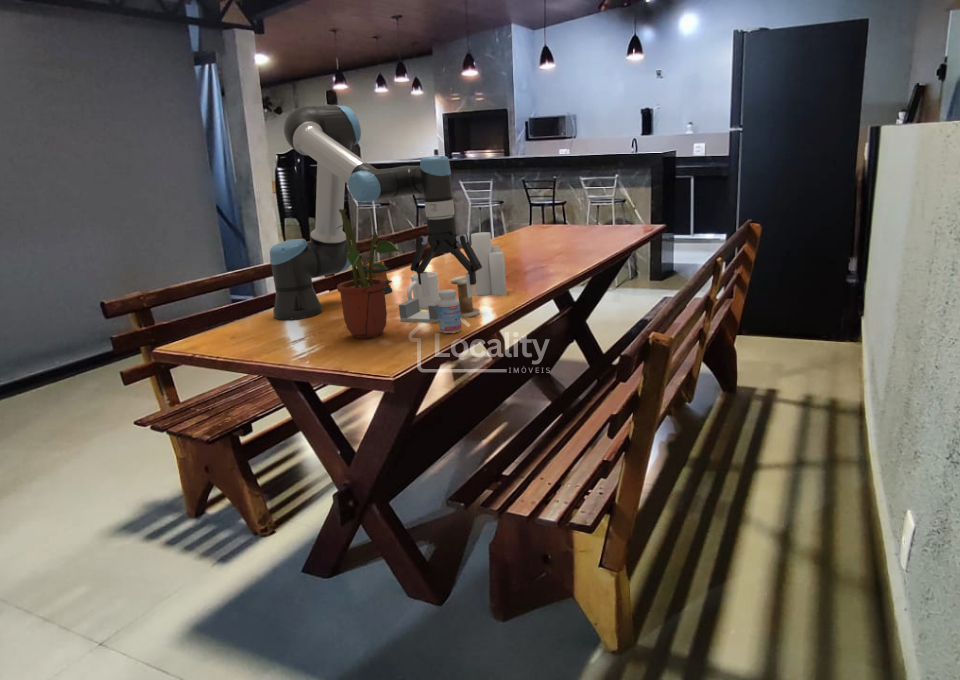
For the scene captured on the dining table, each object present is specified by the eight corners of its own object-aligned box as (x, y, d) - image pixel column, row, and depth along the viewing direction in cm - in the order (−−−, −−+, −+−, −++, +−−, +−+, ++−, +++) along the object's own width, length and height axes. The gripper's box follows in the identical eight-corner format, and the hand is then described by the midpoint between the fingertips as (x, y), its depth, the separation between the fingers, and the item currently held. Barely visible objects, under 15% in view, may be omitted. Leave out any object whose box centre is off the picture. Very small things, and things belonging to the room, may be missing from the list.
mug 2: (398, 290, 241) (395, 258, 238) (381, 296, 233) (377, 264, 230) (370, 288, 248) (366, 257, 244) (352, 295, 239) (348, 263, 236)
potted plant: (346, 345, 179) (328, 212, 168) (341, 331, 193) (323, 208, 183) (411, 335, 183) (396, 205, 173) (401, 322, 197) (387, 201, 187)
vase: (472, 295, 224) (467, 235, 219) (481, 290, 231) (476, 232, 225) (503, 296, 220) (499, 235, 214) (511, 291, 226) (507, 231, 220)
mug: (418, 313, 206) (414, 280, 203) (400, 310, 211) (396, 278, 208) (445, 304, 214) (442, 273, 211) (427, 302, 220) (424, 271, 217)
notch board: (400, 321, 199) (398, 304, 197) (413, 314, 206) (412, 298, 204) (436, 322, 194) (434, 306, 192) (448, 315, 201) (447, 299, 199)
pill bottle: (447, 335, 180) (443, 294, 177) (435, 331, 185) (431, 291, 182) (466, 330, 184) (462, 290, 180) (454, 326, 188) (450, 287, 185)
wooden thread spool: (449, 317, 199) (446, 280, 195) (460, 310, 205) (457, 275, 202) (473, 318, 196) (470, 281, 192) (483, 311, 202) (480, 275, 199)
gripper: (392, 220, 177) (401, 299, 183) (478, 217, 167) (485, 300, 173) (406, 217, 184) (414, 292, 190) (489, 213, 174) (496, 293, 180)
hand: (448, 296), depth 181 cm, fingers open, 13 cm apart
